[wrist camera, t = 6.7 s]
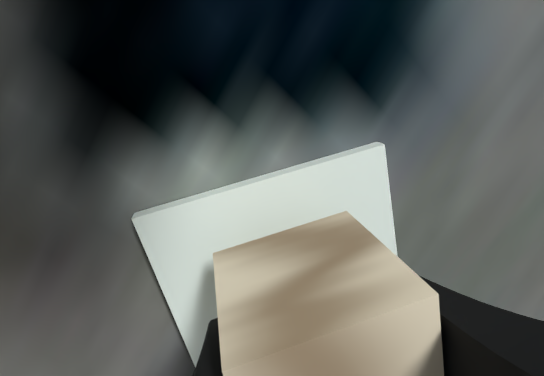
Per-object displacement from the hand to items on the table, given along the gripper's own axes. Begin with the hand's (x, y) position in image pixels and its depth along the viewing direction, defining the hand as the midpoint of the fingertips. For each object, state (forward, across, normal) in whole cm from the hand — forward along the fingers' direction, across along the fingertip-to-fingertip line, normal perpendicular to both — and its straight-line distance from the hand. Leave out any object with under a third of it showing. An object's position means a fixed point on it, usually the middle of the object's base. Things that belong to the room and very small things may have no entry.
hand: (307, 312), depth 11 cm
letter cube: (+2, 0, 0) cm, 2 cm away
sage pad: (+3, 0, 0) cm, 3 cm away
